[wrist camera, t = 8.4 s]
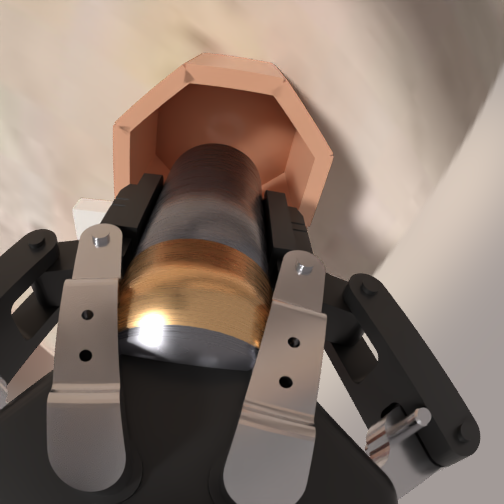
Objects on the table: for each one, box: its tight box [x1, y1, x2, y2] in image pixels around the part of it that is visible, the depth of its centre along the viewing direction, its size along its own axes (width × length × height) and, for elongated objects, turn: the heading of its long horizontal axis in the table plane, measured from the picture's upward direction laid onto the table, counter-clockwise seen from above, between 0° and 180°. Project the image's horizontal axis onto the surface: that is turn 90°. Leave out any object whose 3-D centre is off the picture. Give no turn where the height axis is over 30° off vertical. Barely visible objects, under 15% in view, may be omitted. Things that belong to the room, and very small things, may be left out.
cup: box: [113, 53, 334, 229], centre depth 16 cm, size 10×10×6 cm
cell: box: [119, 143, 273, 371], centre depth 10 cm, size 4×4×10 cm
